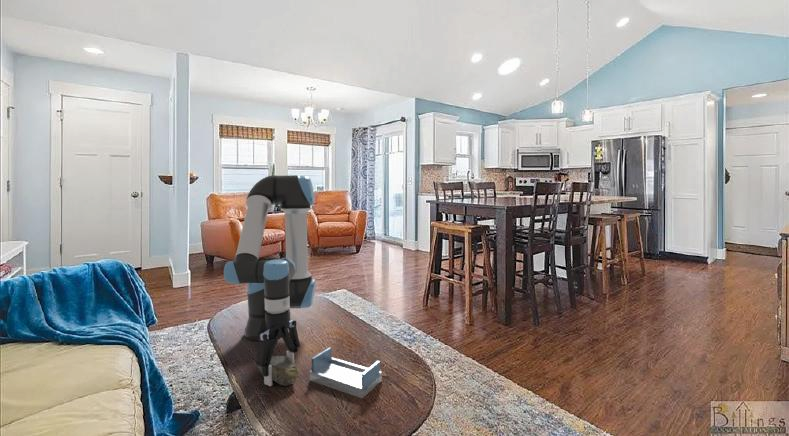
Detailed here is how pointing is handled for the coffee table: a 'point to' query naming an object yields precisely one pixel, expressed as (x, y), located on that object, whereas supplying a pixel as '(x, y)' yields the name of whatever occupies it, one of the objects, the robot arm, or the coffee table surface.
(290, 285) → the robot arm
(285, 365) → the rock
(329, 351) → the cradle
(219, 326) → the coffee table surface
